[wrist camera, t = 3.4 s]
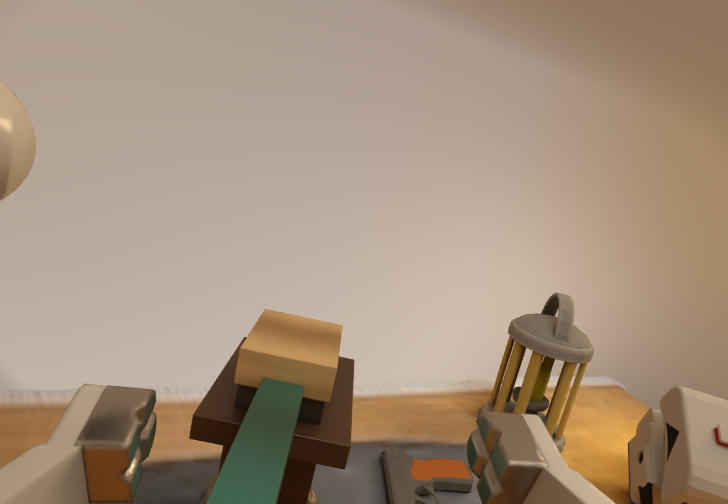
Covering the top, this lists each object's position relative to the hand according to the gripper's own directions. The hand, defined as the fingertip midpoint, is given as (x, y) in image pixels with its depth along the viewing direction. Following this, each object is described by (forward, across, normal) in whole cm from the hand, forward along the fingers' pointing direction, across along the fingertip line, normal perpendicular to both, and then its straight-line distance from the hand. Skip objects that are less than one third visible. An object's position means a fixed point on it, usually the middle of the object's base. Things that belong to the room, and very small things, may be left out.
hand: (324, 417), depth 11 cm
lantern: (+43, -42, +49) cm, 77 cm away
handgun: (+25, -20, +42) cm, 53 cm away
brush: (+7, +1, +10) cm, 12 cm away
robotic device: (+24, -55, +44) cm, 74 cm away
